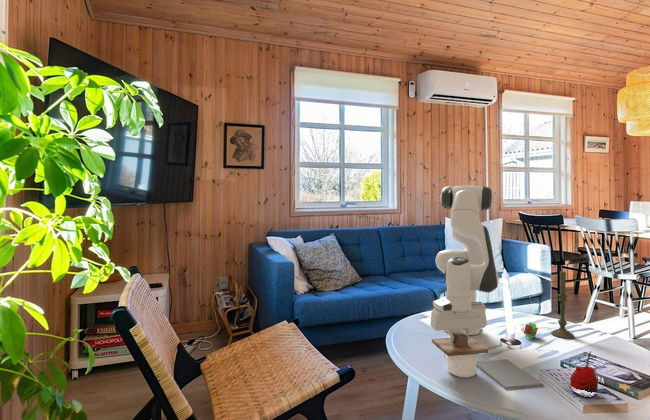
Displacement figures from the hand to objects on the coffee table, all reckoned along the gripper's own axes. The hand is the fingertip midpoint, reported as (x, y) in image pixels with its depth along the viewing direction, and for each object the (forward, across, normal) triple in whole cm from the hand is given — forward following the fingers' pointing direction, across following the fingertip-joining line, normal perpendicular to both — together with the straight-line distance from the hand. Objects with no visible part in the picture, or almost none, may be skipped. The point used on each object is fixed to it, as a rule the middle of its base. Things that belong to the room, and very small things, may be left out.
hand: (458, 340), depth 139 cm
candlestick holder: (+12, -65, -27) cm, 71 cm away
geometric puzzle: (+12, -49, -27) cm, 57 cm away
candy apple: (+12, -32, +21) cm, 40 cm away
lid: (+2, 0, 0) cm, 2 cm away
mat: (+12, -16, +4) cm, 20 cm away
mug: (+12, 0, 0) cm, 12 cm away
